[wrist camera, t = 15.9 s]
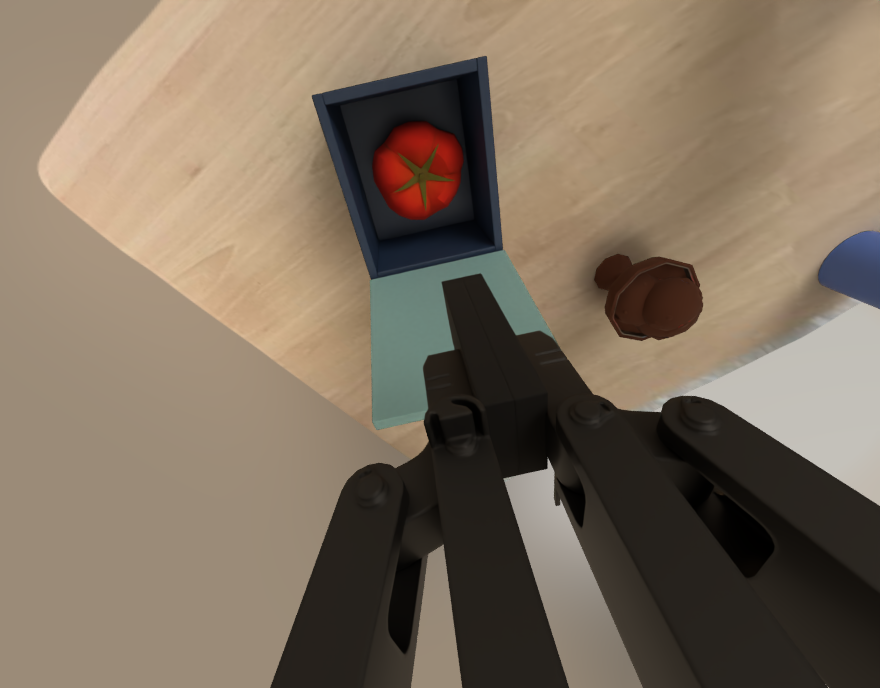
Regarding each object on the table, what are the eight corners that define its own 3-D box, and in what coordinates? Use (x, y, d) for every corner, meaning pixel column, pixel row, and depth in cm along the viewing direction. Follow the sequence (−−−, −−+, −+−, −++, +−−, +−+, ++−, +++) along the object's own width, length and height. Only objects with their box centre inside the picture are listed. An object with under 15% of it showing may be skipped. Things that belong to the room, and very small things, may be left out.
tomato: (401, 222, 42) (403, 241, 36) (359, 146, 37) (353, 154, 31) (471, 182, 41) (486, 196, 35) (437, 99, 36) (447, 97, 30)
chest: (330, 98, 36) (311, 95, 27) (462, 67, 35) (486, 55, 27) (374, 246, 44) (371, 281, 36) (480, 222, 44) (503, 252, 35)
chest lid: (372, 422, 23) (376, 430, 24) (576, 376, 23) (574, 386, 24) (369, 279, 35) (372, 287, 35) (504, 249, 35) (505, 258, 35)
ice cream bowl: (560, 286, 51) (616, 344, 39) (618, 218, 46) (702, 259, 34) (608, 317, 55) (672, 379, 43) (666, 258, 50) (756, 307, 38)
